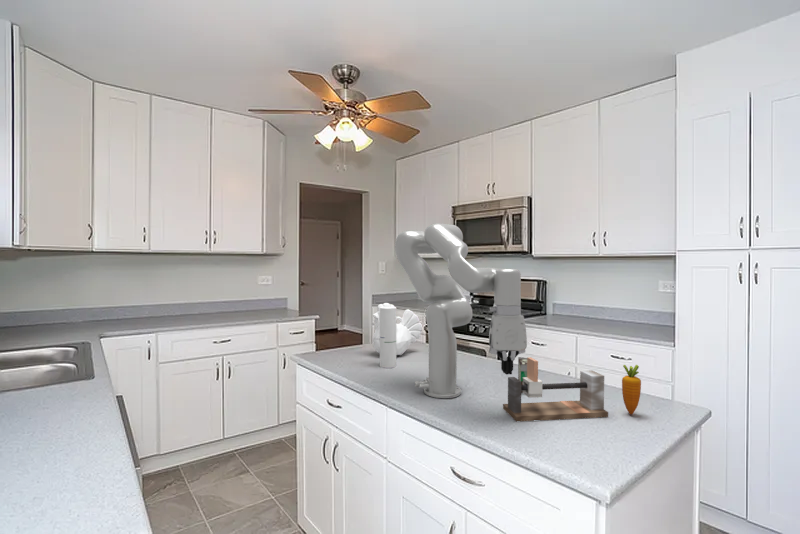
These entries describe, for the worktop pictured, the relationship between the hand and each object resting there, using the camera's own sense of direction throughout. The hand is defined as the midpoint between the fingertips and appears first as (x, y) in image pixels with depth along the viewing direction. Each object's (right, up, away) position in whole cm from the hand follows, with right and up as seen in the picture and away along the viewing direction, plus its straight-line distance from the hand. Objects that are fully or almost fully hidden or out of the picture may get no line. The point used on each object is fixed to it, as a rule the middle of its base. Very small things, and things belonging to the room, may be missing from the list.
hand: (507, 373), depth 121 cm
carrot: (+37, -13, +1) cm, 39 cm away
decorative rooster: (-32, -11, +76) cm, 83 cm away
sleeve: (+8, -7, +1) cm, 10 cm away
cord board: (+15, -13, +2) cm, 19 cm away
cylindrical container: (-37, -11, +55) cm, 67 cm away
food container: (+14, -12, +24) cm, 31 cm away
